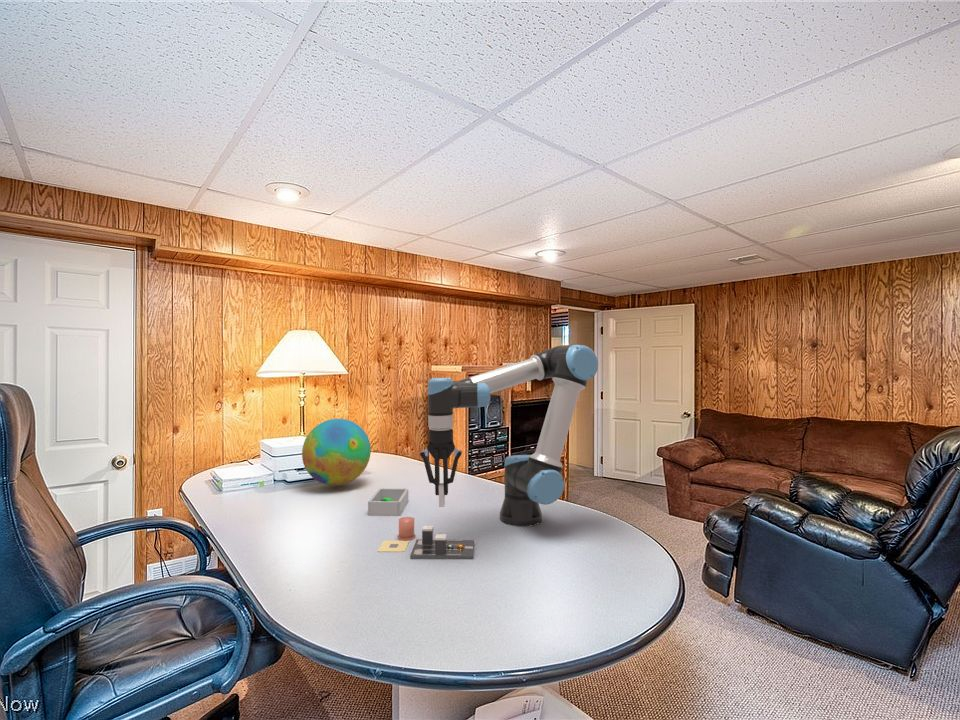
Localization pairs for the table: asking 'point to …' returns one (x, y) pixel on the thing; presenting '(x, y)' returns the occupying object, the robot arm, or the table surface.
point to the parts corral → (388, 502)
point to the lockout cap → (406, 528)
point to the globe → (336, 452)
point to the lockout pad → (393, 546)
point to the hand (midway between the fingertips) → (441, 505)
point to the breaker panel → (453, 550)
